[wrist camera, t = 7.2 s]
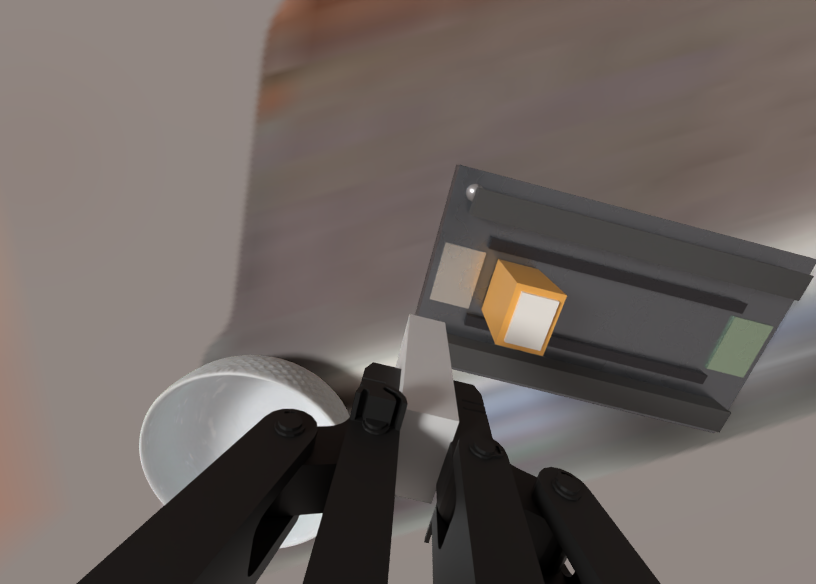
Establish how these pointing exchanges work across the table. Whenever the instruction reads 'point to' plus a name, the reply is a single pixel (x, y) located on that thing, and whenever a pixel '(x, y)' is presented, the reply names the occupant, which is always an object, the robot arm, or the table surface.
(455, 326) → the grey slider base
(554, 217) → the long dark grey rail
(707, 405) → the dark grey edge bar
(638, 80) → the table surface
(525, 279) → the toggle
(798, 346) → the table surface
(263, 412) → the cereal bowl
